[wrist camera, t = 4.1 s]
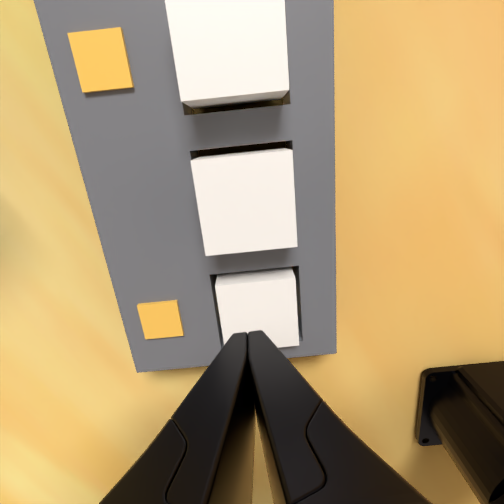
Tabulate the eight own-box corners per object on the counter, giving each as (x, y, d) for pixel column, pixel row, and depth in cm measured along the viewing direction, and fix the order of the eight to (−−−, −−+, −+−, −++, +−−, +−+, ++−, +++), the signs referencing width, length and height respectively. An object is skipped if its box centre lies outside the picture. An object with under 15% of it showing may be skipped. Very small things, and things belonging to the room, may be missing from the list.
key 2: (291, 314, 19) (299, 345, 16) (228, 320, 19) (225, 352, 16) (287, 255, 18) (295, 277, 15) (219, 262, 18) (215, 286, 15)
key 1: (280, 99, 14) (289, 90, 11) (193, 108, 14) (180, 101, 11) (273, -6, 12) (282, -48, 10) (178, 4, 13) (159, -34, 10)
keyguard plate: (325, 327, 20) (337, 355, 17) (149, 344, 20) (135, 375, 17) (317, -34, 13) (334, -74, 11) (62, -5, 14) (20, -38, 11)
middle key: (288, 227, 16) (297, 246, 13) (212, 234, 16) (205, 256, 13) (282, 147, 14) (292, 150, 12) (200, 156, 14) (190, 160, 12)
